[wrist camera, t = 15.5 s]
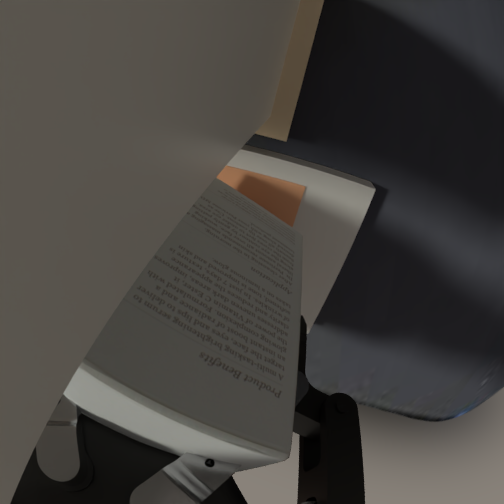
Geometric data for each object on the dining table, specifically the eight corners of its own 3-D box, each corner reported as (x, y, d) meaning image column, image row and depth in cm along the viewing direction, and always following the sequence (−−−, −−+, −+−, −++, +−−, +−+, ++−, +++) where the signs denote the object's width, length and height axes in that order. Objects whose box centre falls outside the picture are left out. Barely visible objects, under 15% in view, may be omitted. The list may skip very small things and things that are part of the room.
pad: (370, 181, 15) (376, 190, 14) (308, 321, 21) (307, 334, 20) (130, 123, 15) (118, 127, 14) (127, 270, 21) (119, 280, 20)
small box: (225, 321, 18) (176, 482, 9) (148, 275, 17) (58, 424, 8) (307, 232, 14) (297, 465, 5) (207, 166, 13) (50, 350, 4)
